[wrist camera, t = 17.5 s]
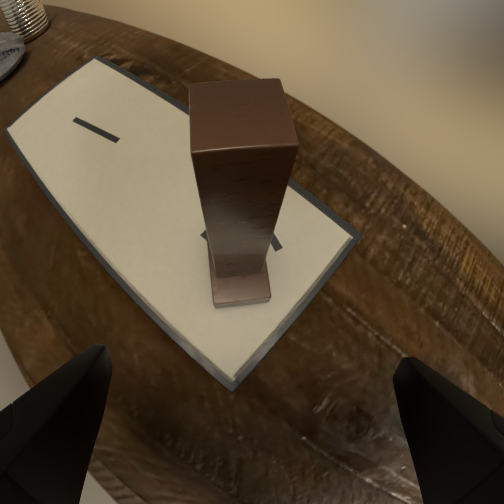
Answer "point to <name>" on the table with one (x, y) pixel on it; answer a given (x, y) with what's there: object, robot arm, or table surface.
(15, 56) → the fossil
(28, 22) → the water bottle
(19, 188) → the table surface
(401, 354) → the table surface
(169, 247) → the whiteboard
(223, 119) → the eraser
